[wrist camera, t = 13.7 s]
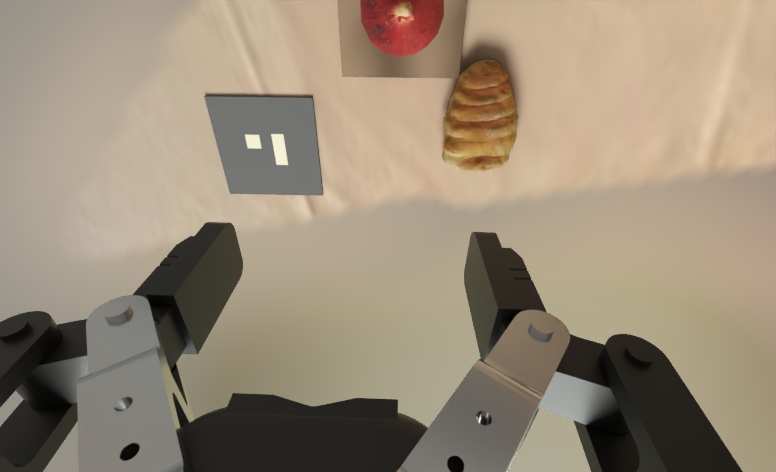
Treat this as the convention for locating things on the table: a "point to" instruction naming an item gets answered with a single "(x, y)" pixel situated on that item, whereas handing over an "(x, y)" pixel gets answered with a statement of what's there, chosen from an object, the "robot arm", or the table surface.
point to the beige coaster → (427, 63)
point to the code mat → (267, 144)
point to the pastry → (480, 119)
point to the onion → (401, 24)
